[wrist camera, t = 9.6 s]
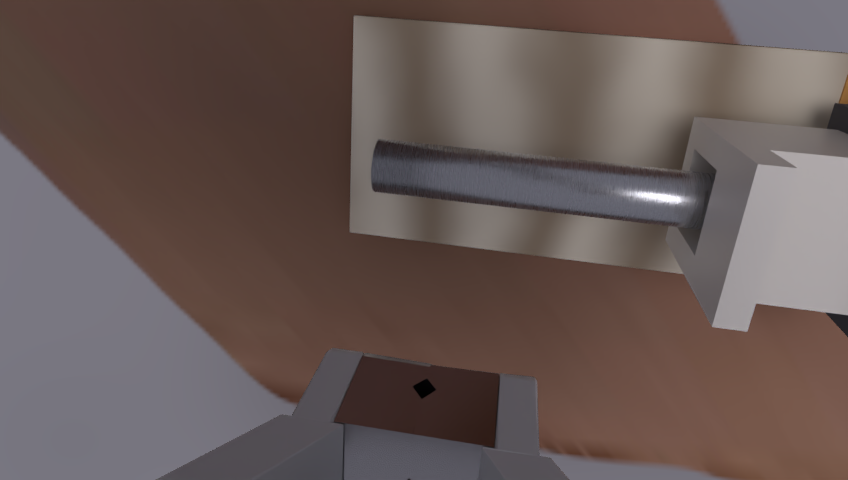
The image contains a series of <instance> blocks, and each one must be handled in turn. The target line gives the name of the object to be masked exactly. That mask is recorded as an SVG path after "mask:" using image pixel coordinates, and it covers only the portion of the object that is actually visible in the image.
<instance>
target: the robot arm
mask: <svg viewBox="0 0 848 480" xmlns="http://www.w3.org/2000/svg"><path fill="white" fill-rule="evenodd" d="M156 480H569V479H568V478H567V476H565V474H564V473H563V472H562V471H561V470H560V468H559V467H558V466H557V465H556V464H555V463H554V461H553V460H552V459H551V458H548V457H542V456H539V427H538V398H537V380H536V379H535V378H534V377H530V376H521V375H512V374H503V373H500V375H499V374H498V373H490V372H482V371H474V370H467V369H459V368H451V367H444V366H436V365H432V364H429V363H423V362H417V361H411V360H405V359H399V358H393V357H387V356H381V355H375V354H369V353H365V354H364V353H363V352H357V351H350V350H343V349H336V348H332V349H330V350H329V351H327V352H326V354H325V356H324V358H323V359H322V361H321V363H320V365H319V367H318V369H317V370H316V372H315V374H314V376H313V378H312V380H311V381H310V383H309V385H308V387H307V389H306V390H305V392H304V394H303V396H302V398H301V400H300V401H299V403H298V405H297V407H296V409H295V411H294V412H293V414H292V416H288V415H279V416H278V417H276V418H274V419H272V420H270V421H268V422H266V423H264V424H262V425H260V426H258V427H256V428H254V429H253V430H251V431H249V432H247V433H245V434H243V435H241V436H239V437H237V438H235V439H233V440H231V441H229V442H228V443H226V444H224V445H222V446H220V447H218V448H216V449H215V450H212V451H210V452H208V453H206V454H205V455H203V456H201V457H199V458H197V459H195V460H193V461H191V462H189V463H187V464H185V465H183V466H181V467H179V468H178V469H176V470H174V471H172V472H170V473H168V474H166V475H164V476H162V477H160V478H159V479H156Z"/></svg>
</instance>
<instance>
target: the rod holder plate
mask: <svg viewBox="0 0 848 480" xmlns="http://www.w3.org/2000/svg"><path fill="white" fill-rule="evenodd" d="M835 103H840V104H848V53H842V52H828V51H815V50H803V49H790V48H777V47H764V46H751V45H738V44H725V43H712V42H699V41H686V40H673V39H660V38H647V37H634V36H621V35H608V34H595V33H582V32H569V31H556V30H543V29H530V28H517V27H504V26H491V25H477V24H464V23H451V22H438V21H425V20H412V19H399V18H386V17H373V16H360V15H356V16H354V27H353V78H352V130H351V182H350V232H352V233H360V234H368V235H376V236H384V237H392V238H400V239H408V240H416V241H424V242H432V243H440V244H448V245H456V246H464V247H472V248H480V249H488V250H495V251H503V252H511V253H519V254H527V255H535V256H543V257H551V258H559V259H567V260H575V261H583V262H591V263H599V264H607V265H615V266H623V267H631V268H639V269H647V270H655V271H663V272H671V273H679V274H683V272H682V270H681V268H680V266H679V265H678V263H677V261H676V259H675V257H674V255H673V253H672V251H671V250H670V248H669V246H668V244H667V242H666V240H665V239H666V235H667V231H668V227H669V226H664V225H655V224H647V223H638V222H629V221H621V220H612V219H603V218H595V217H586V216H577V215H569V214H560V213H552V212H543V211H534V210H526V209H517V208H508V207H500V206H491V205H482V204H474V203H465V202H457V201H448V200H439V199H431V198H422V197H413V196H405V195H396V194H387V193H379V192H374V191H373V189H372V184H371V166H372V158H373V153H374V149H375V145H376V143H377V141H378V140H379V139H386V140H396V141H406V142H415V143H425V144H435V145H444V146H454V147H464V148H473V149H483V150H492V151H502V152H512V153H521V154H531V155H541V156H550V157H560V158H569V159H579V160H589V161H598V162H608V163H618V164H627V165H637V166H647V167H656V168H666V169H675V170H682V167H683V162H684V158H685V154H686V150H687V145H688V141H689V137H690V133H691V128H692V124H693V120H694V117H704V118H715V119H726V120H736V121H747V122H758V123H769V124H780V125H791V126H801V127H812V128H823V129H827V126H828V123H829V120H830V117H831V113H832V110H833V107H834V104H835Z"/></svg>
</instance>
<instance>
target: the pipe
mask: <svg viewBox="0 0 848 480" xmlns="http://www.w3.org/2000/svg"><path fill="white" fill-rule="evenodd" d="M715 176H716V174H714V173H704V172H695V171H685V170H675V169H666V168H656V167H647V166H637V165H627V164H618V163H608V162H598V161H589V160H579V159H569V158H560V157H550V156H541V155H531V154H521V153H512V152H502V151H492V150H483V149H473V148H464V147H454V146H444V145H435V144H425V143H415V142H406V141H396V140H386V139H379V140H378V141H377V143H376V145H375V149H374V153H373V158H372V166H371V184H372V189H373V191H374V192H379V193H387V194H396V195H405V196H413V197H422V198H431V199H439V200H448V201H457V202H465V203H474V204H482V205H491V206H500V207H508V208H517V209H526V210H534V211H543V212H552V213H560V214H569V215H577V216H586V217H595V218H603V219H612V220H621V221H629V222H638V223H647V224H655V225H664V226H672V227H681V228H690V229H698V230H702V227H703V223H704V219H705V215H706V211H707V207H708V203H709V199H710V195H711V191H712V188H713V184H714V180H715Z"/></svg>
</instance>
